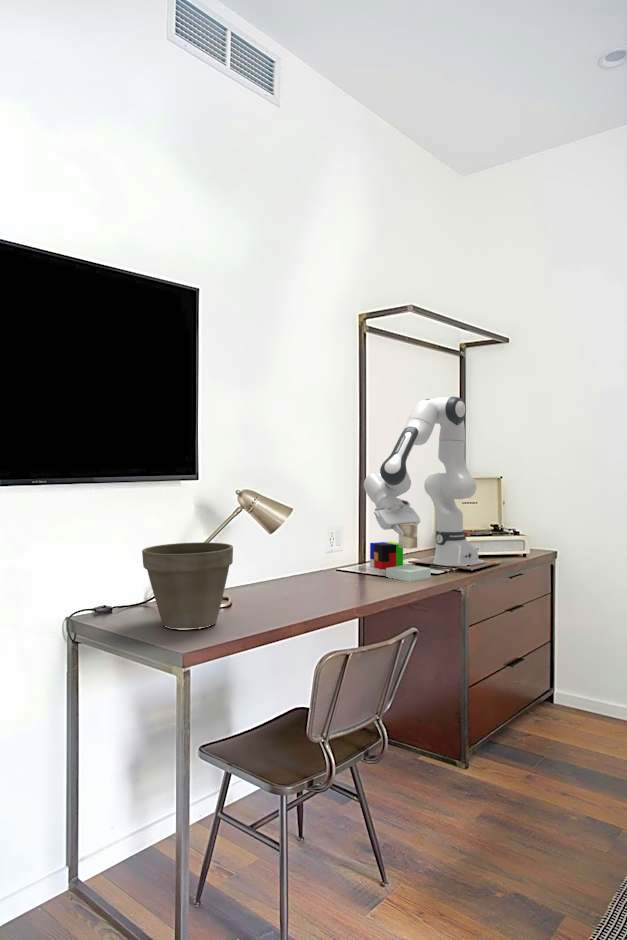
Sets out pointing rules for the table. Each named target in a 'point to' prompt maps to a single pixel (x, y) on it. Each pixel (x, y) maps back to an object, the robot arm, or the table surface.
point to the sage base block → (408, 573)
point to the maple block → (408, 536)
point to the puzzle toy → (385, 555)
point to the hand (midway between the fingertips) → (409, 534)
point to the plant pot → (188, 581)
